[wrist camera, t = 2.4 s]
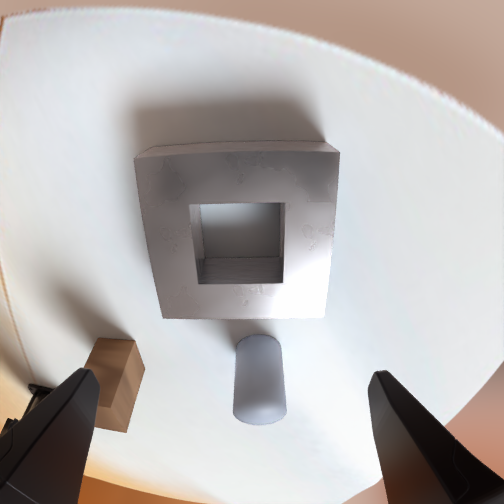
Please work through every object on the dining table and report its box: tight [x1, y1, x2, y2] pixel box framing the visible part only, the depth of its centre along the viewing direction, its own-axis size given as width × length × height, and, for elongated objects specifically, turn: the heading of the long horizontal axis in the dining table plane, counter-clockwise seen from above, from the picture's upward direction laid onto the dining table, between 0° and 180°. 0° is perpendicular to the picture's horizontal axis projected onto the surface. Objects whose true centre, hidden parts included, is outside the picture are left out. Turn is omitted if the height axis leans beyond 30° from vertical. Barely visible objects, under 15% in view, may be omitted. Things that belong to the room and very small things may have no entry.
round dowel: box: [233, 335, 287, 425], centre depth 22 cm, size 4×4×6 cm
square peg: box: [84, 338, 145, 433], centre depth 22 cm, size 4×4×7 cm
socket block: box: [134, 141, 340, 319], centre depth 18 cm, size 10×10×3 cm
